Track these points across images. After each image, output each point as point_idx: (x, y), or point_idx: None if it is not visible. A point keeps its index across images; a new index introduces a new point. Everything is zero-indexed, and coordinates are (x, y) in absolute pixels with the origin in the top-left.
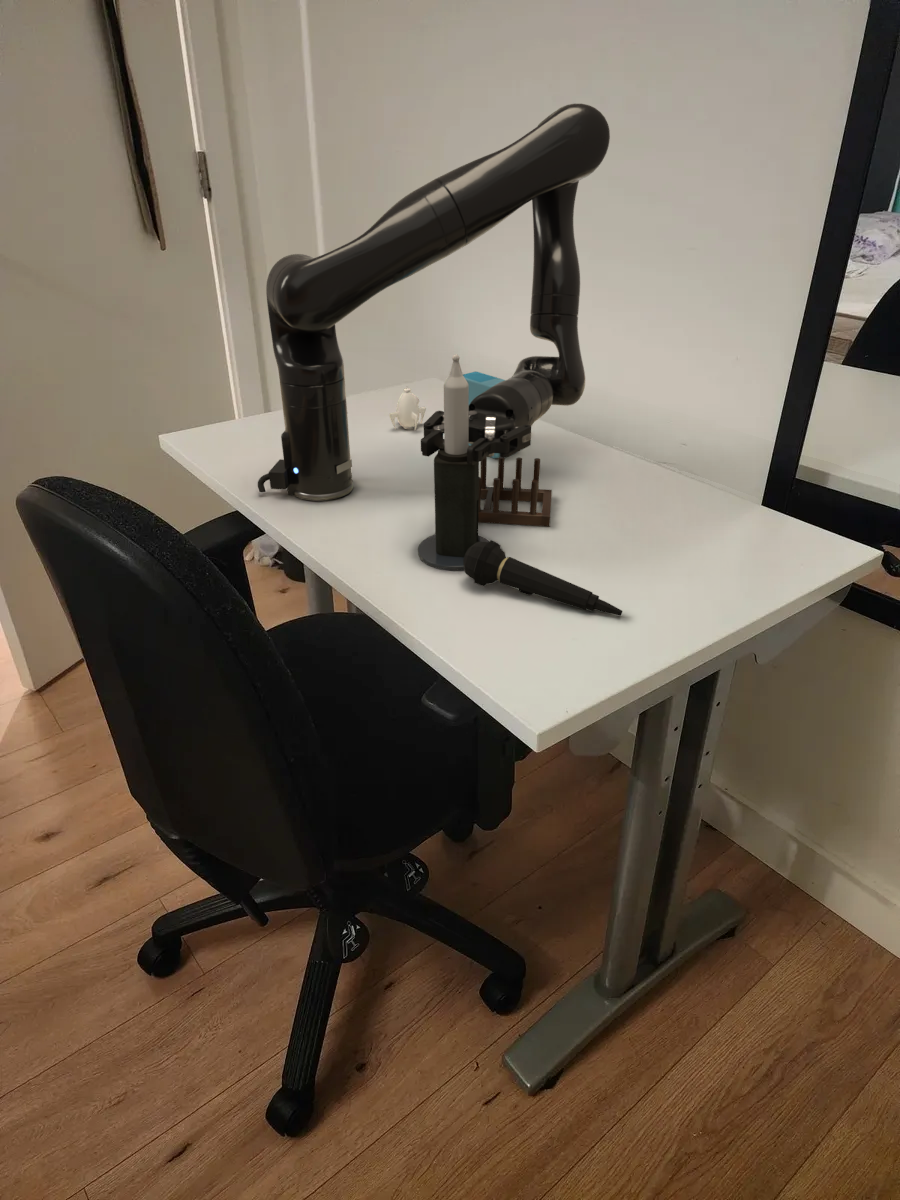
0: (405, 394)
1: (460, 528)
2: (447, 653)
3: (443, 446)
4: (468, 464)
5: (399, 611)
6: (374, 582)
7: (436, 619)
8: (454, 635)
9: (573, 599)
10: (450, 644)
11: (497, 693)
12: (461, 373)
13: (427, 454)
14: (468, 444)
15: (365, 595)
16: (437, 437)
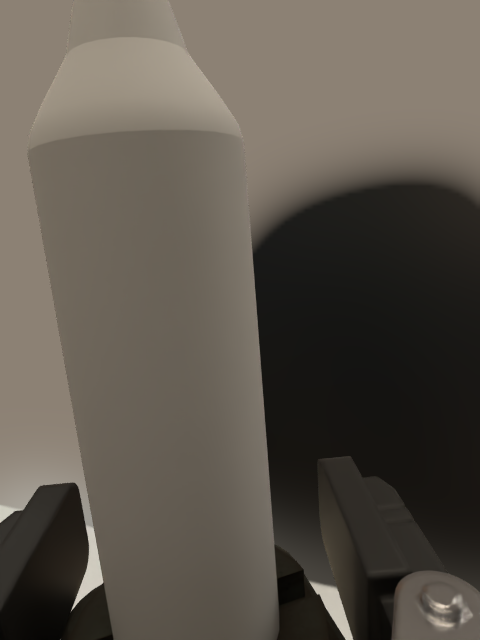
0: None
1: None
2: (94, 535)
3: (316, 629)
4: (92, 590)
5: None
6: (344, 633)
7: None
8: (94, 571)
9: None
10: (95, 552)
11: (8, 511)
12: (71, 38)
13: (320, 523)
14: (114, 635)
15: (317, 585)
16: (350, 558)
